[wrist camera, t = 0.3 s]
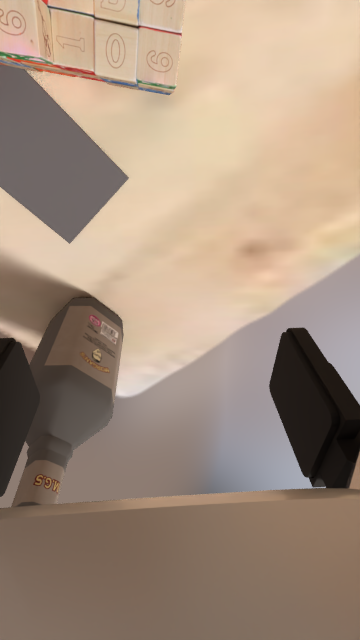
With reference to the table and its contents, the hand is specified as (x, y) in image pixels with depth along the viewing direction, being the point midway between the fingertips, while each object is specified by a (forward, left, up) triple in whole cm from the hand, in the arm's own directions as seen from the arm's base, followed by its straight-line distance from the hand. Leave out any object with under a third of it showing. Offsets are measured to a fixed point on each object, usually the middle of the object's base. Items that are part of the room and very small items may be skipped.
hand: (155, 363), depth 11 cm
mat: (+7, -14, -30) cm, 34 cm away
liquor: (+21, +7, -30) cm, 37 cm away
